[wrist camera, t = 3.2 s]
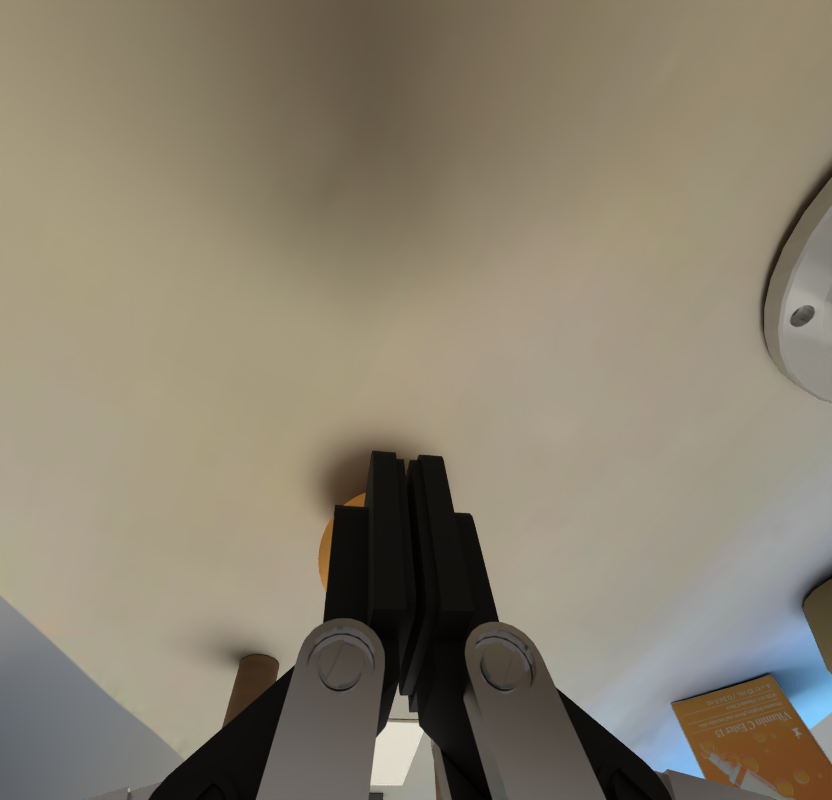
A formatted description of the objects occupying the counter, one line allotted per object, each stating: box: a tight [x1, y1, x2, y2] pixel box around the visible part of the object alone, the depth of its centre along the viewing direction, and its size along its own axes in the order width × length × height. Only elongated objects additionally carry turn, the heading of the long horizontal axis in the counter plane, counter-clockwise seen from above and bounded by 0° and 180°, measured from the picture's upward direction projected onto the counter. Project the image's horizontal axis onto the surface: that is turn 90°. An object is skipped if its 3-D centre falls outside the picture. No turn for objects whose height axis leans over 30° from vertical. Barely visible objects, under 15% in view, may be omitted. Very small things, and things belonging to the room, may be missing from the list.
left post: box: [222, 655, 279, 728], centre depth 27 cm, size 3×3×9 cm
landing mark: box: [370, 719, 424, 785], centre depth 39 cm, size 13×13×1 cm
